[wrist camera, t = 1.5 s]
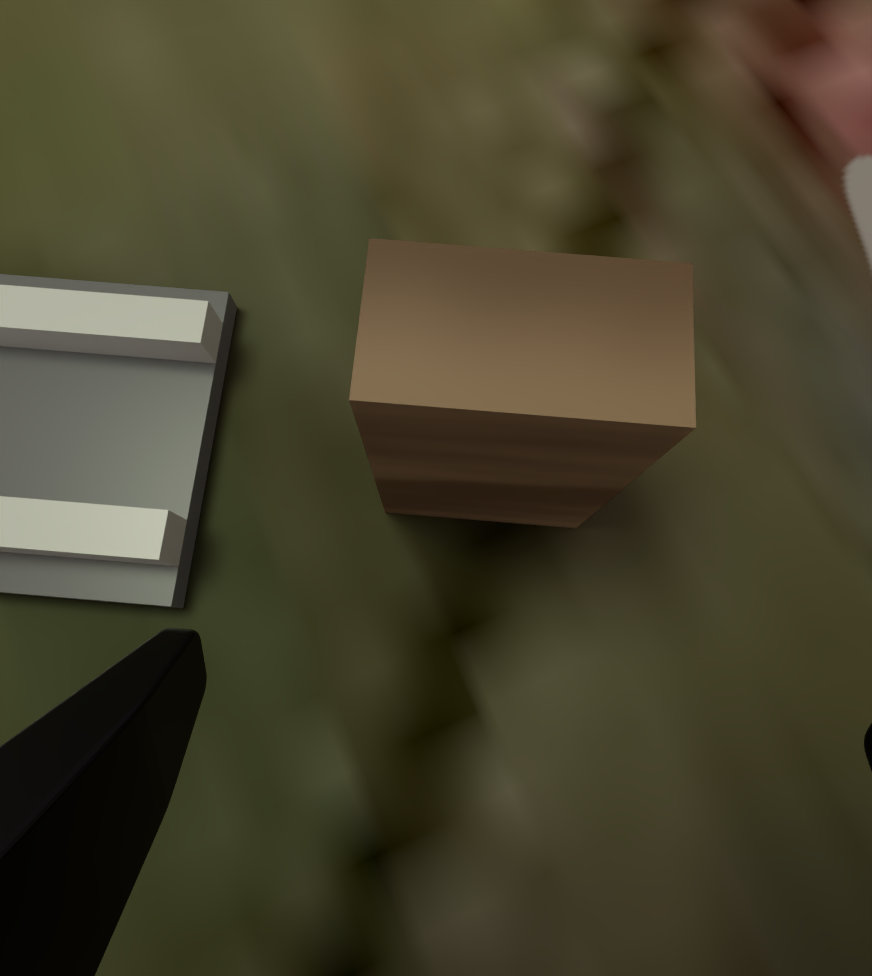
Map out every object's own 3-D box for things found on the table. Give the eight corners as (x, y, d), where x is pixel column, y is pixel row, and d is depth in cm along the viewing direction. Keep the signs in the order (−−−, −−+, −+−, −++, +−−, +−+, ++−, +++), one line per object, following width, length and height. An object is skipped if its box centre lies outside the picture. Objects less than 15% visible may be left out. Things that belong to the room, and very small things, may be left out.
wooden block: (575, 528, 22) (695, 427, 12) (385, 512, 22) (349, 400, 12) (578, 415, 23) (691, 237, 13) (397, 400, 23) (372, 212, 13)
